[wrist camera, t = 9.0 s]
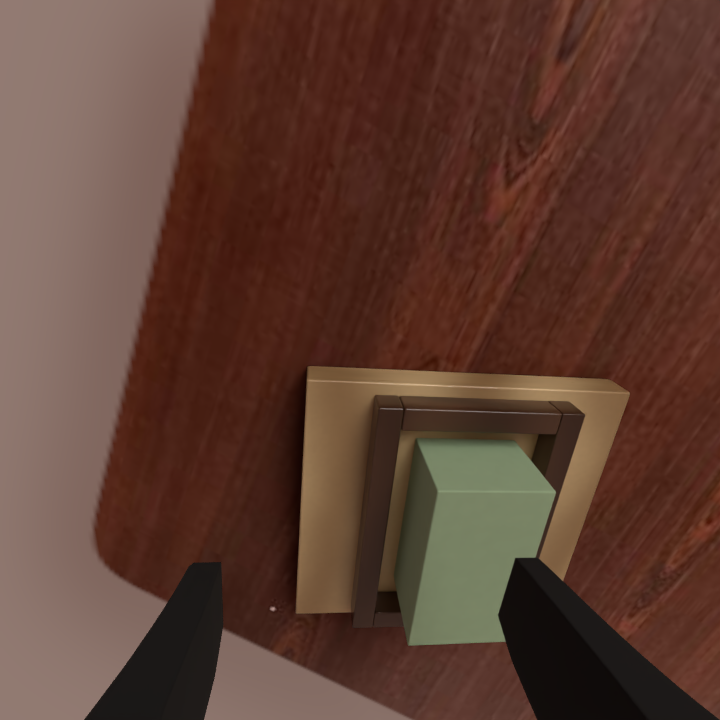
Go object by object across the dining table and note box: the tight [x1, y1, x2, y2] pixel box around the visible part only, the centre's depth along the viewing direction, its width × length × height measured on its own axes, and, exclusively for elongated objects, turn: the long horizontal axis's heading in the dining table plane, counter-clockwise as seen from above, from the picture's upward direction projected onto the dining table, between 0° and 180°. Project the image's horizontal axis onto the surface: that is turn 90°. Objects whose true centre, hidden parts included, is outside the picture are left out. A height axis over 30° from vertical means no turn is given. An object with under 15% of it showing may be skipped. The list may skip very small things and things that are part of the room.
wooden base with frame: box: [295, 366, 630, 628], centre depth 20 cm, size 14×13×3 cm
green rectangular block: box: [394, 438, 556, 646], centre depth 18 cm, size 4×8×4 cm, turn 175°
